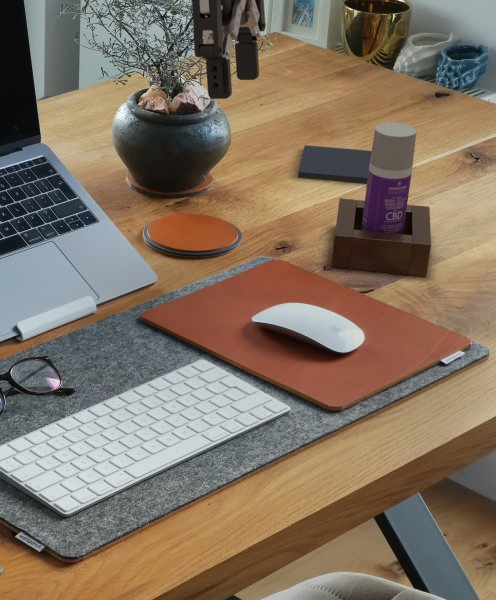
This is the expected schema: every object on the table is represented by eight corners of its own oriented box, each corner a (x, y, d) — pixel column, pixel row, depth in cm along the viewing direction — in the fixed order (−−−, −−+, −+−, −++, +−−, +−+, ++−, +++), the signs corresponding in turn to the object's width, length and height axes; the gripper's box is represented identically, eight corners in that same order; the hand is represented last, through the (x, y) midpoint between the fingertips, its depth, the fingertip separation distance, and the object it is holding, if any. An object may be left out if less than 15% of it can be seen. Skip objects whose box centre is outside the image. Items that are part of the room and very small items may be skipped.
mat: (376, 156, 155) (377, 151, 154) (374, 184, 146) (375, 178, 146) (303, 150, 157) (304, 145, 157) (298, 177, 148) (298, 171, 148)
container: (383, 264, 126) (400, 140, 119) (350, 250, 129) (365, 128, 122) (408, 252, 129) (426, 130, 122) (374, 239, 132) (390, 118, 125)
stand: (424, 237, 133) (429, 206, 131) (425, 277, 124) (431, 244, 122) (336, 228, 135) (339, 198, 133) (331, 266, 126) (334, 235, 124)
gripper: (237, -77, 98) (248, 105, 104) (284, -92, 110) (291, 72, 116) (159, -71, 101) (173, 105, 107) (212, -86, 113) (223, 73, 119)
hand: (234, 88), depth 111 cm, fingers open, 8 cm apart
